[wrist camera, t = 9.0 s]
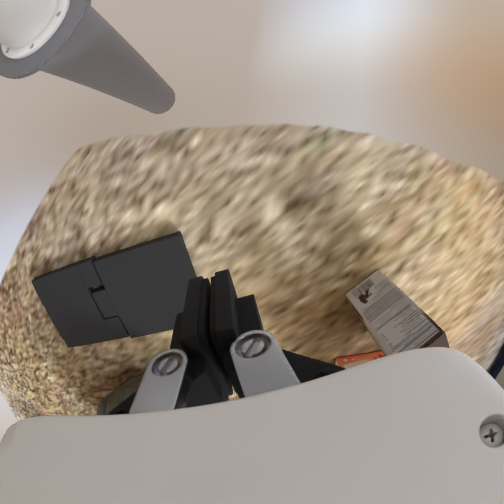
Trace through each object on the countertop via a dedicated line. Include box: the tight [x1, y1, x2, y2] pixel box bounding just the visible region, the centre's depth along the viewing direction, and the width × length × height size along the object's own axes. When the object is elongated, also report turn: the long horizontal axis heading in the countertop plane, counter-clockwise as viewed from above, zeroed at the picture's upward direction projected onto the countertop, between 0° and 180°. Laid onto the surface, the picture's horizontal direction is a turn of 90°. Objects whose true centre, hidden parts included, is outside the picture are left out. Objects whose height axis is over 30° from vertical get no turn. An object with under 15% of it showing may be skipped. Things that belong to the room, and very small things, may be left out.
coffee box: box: [345, 270, 449, 356], centre depth 32 cm, size 9×6×16 cm
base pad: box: [32, 256, 129, 347], centre depth 35 cm, size 12×12×2 cm
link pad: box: [92, 232, 197, 338], centre depth 35 cm, size 12×14×2 cm
